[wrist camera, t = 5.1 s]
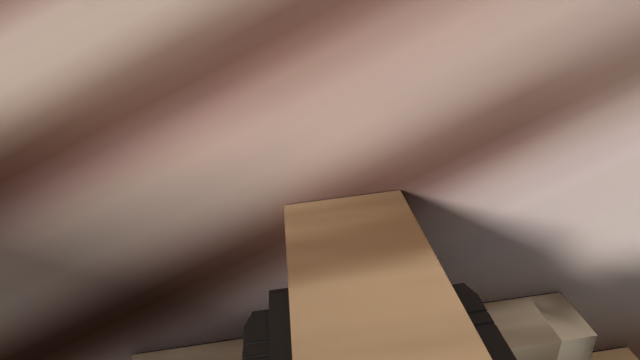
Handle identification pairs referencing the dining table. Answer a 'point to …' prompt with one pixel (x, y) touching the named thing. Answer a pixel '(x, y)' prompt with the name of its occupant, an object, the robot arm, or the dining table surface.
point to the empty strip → (614, 354)
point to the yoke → (391, 295)
